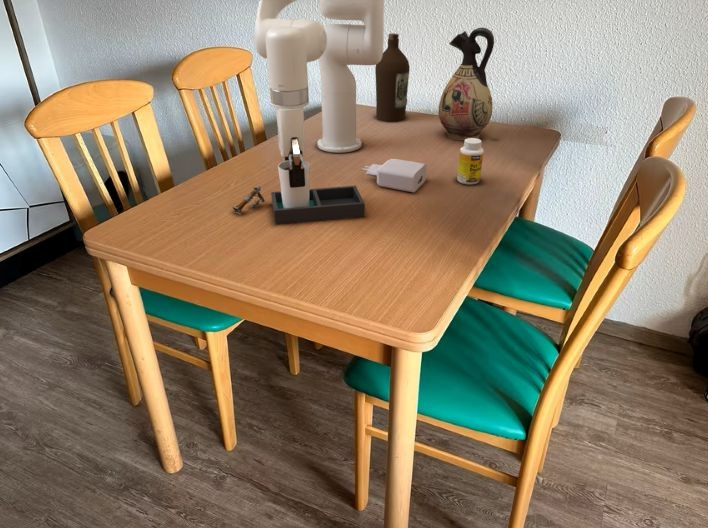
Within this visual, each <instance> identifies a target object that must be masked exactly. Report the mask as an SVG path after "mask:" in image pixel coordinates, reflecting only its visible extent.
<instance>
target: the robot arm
mask: <svg viewBox="0 0 708 528" xmlns="http://www.w3.org/2000/svg"><path fill="white" fill-rule="evenodd" d="M384 1H385V0H318V2H319V10H320V12H321V14H322V16H323V17H324V18H326V19H328V20H334V21H335V20H337V21H361V22H362V23H363V24H350V23H347V24H346V23H331V24H326V25H322V23H320V22H318V21H317V20H313V19H298V18H297V19H296V18H277V17H279V15H280V13H281V11H283V9H285V8H287V7H288V6H289V5H291V4H292V3H294V2H297V0H259V1H258V5H257V12H256V16H255V17H256V18H255V23H254V31H253V41H254V47H255V50H256V52H257V54H258V55H259V56H260V57H261V58H264V59H266V61H267V73H268V84H269V96H270V105H271V107H273V108H275V109H276V111H275V112H276V126H277V127H276V128H277V141H278V143H277V145H278V149H279V154H280V157H281V158H283V159H284V161H287V160H289V166H290V169H288V170H289V183H290V187H291V188H295V187H304V186H305V172H304V167H303V161H304V159H303V157H304V156H305V155H306V131H305V130H306V129H305V113H304V112H305V110H304V108H305V107H307V106H308V105H309V104H310V97H309V96H310V95H309V79H308V78H309V77H308V63H311V62H315V61H317V60H318V65H319V75H320V96H321V97H320V98H321V99H320V100H321V127H322V129H321V130H322V131H321V133H322V137H321V138H319V139H318V140H317V143H316V144H317V145H316V146H317V148H318V149H319V150H321V151H324V152H327V153H338V154H340V153H341V154H343V153H351V152H354V151H357V150H359V149H360V148H361V147H362V140H361V139H360V138H359V137H357V81H356V78H355V75H354V73H353V72H352V71H351V68H350V67H349V66H376V64H378V63H379V62H380V61H381V59H382V56H383V52H384V43H385V41H384V40H385V39H384V38H385V37H384V34H385V33H384V29H385V27H384V25H385V23H384V21H385V19H384V17H385V15H384V14H385V13H384V9H385V8H384V7H385V6H384Z"/></svg>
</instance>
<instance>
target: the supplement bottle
mask: <svg viewBox="0 0 708 528" xmlns="http://www.w3.org/2000/svg"><path fill="white" fill-rule="evenodd" d="M484 153H485V152H484V148H482V140H481V139H480V138H468V139H465V140H464V143H463V146H462V147H461V148H460V149H459V158H458V166H457V167H458V168H457V176H456V177H457V178H456V180H457V181H458V182H459V183H461V184H463V185H468V186H469V185H477V184H478V183H479V182H480V180H481V175H482V174H481V173H482V166H483V159H484Z"/></svg>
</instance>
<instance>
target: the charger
mask: <svg viewBox="0 0 708 528" xmlns="http://www.w3.org/2000/svg"><path fill="white" fill-rule="evenodd" d="M361 170H362V171H365V172H366V175H367V176H369V177H376V184H377V185H378V187H382V188H387V189H394V190H398V191H402V192H403V191H404V192H408V193H415V192H416V191H417V190H418V189H419V188H420V187H421V186H422V185H423V184H425V182H426V179H427V171H428V164H427V163H424V162H423V163H422V162H416V161H412V160H411V161H410V160H404V159H398V158H390V159H387V160H386V161H385V162H384V163H383V164H377V163H372V164H370V165H369V166H368V165H364V168H361Z"/></svg>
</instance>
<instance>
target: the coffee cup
mask: <svg viewBox="0 0 708 528" xmlns="http://www.w3.org/2000/svg"><path fill="white" fill-rule="evenodd" d="M303 167H304V172H305V186H304V187H295V188H291V187H290V183H289V170H288V169H290V166H289V160H287V161H285V160H284V161H281V162H280V163H278V165H277V169H278V177H279V186H280V191H281V194H282V202H283V208H295V207H308V206H309V189H310V162H308V161H306V160H303Z"/></svg>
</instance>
